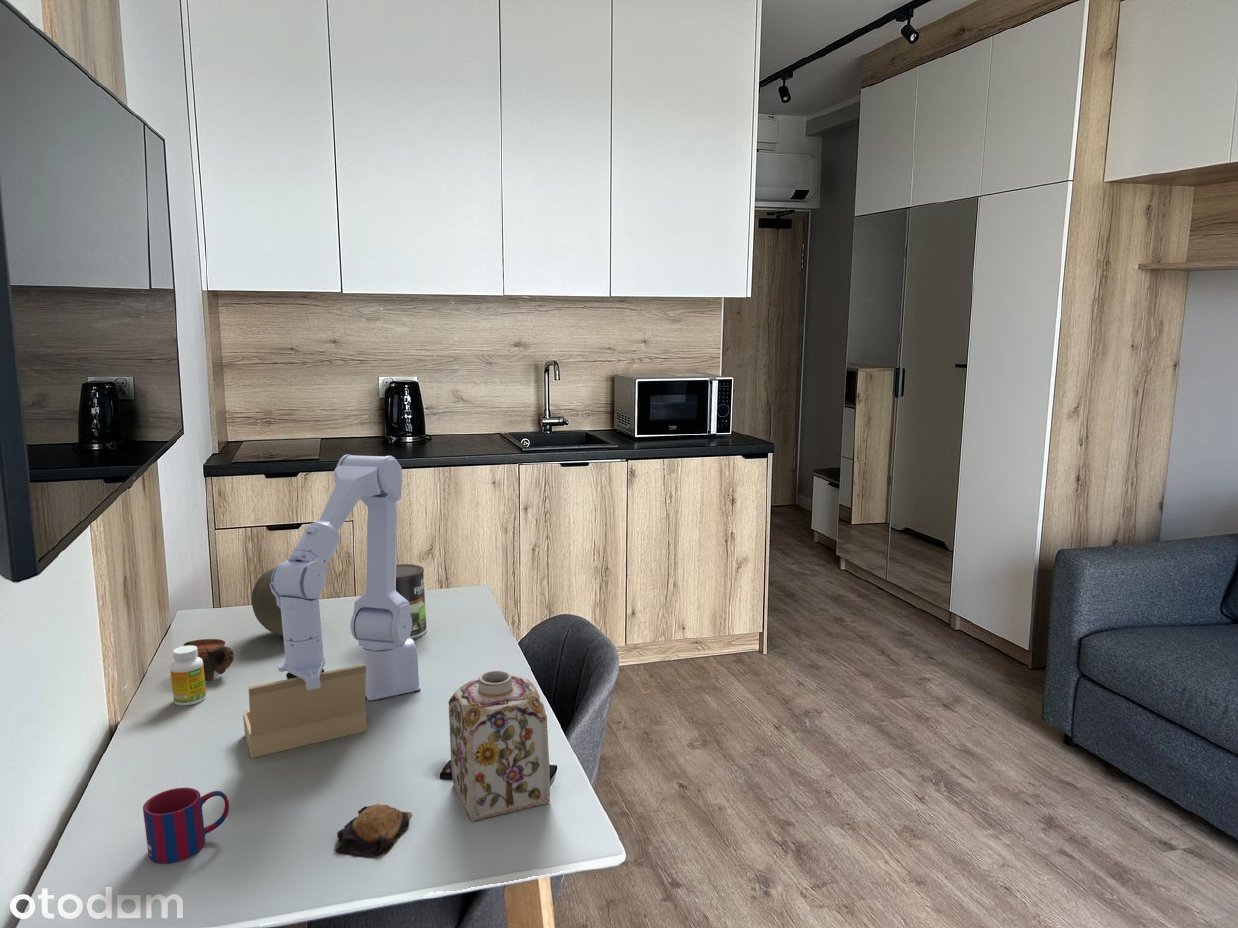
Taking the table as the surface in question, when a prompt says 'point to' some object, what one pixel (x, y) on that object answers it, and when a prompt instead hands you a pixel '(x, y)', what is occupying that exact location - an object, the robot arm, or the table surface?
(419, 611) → the coffee can
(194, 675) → the supplement bottle
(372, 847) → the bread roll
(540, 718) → the decorative jar
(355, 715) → the carton
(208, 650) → the pottery mug
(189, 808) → the cup
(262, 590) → the cantaloupe
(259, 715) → the lid flap
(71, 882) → the table surface
